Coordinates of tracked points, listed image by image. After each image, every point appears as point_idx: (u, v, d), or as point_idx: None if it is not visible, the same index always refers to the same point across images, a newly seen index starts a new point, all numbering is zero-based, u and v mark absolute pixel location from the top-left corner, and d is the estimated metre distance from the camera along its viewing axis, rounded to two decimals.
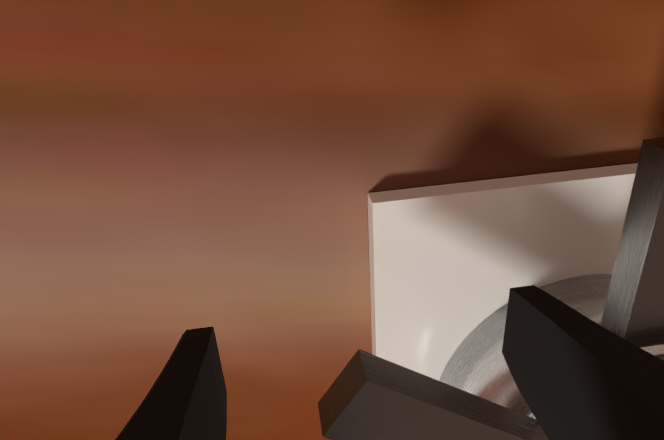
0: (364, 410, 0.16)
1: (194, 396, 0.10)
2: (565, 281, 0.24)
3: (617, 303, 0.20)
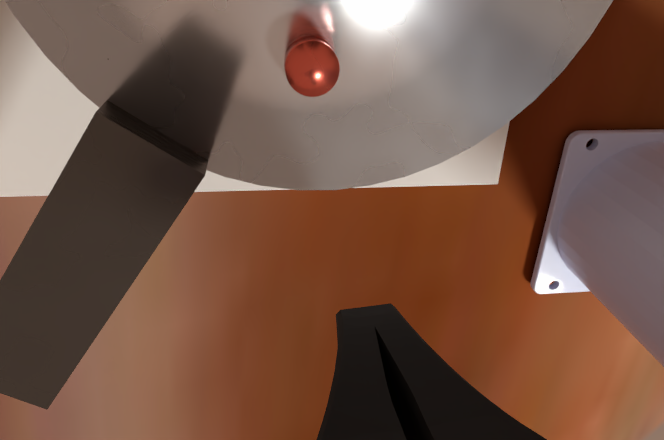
0: (0, 374, 0.14)
1: None
2: None
3: None
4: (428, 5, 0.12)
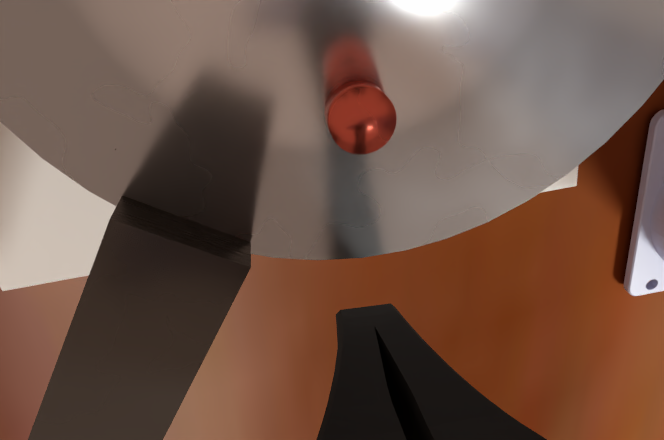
0: None
1: None
2: None
3: None
4: (497, 15, 0.09)
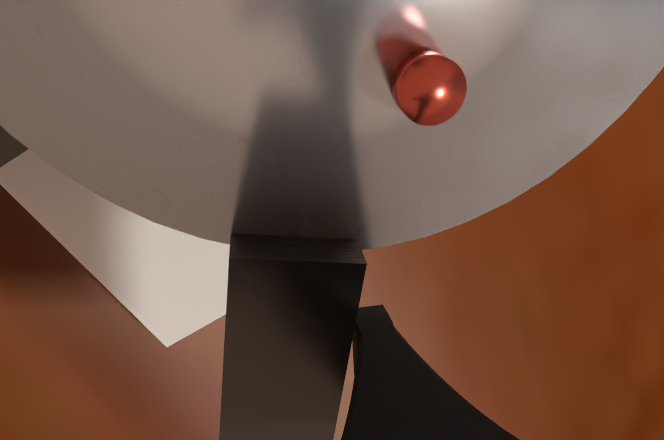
0: None
1: None
2: None
3: None
4: None
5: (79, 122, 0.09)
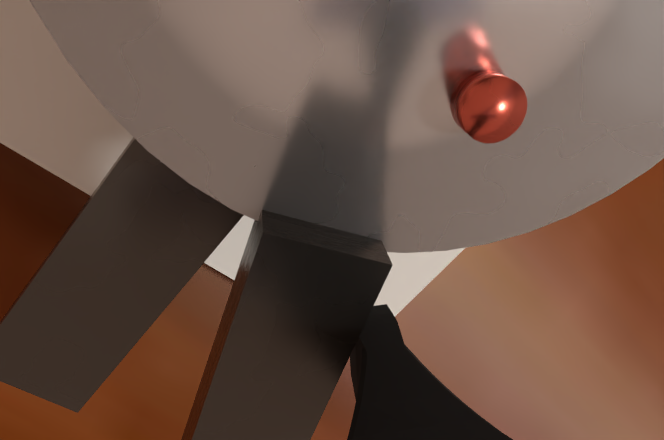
0: None
1: None
2: None
3: None
4: None
5: (142, 64, 0.09)
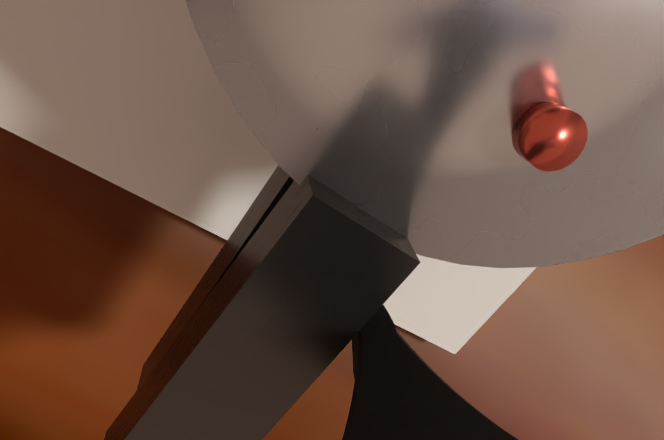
0: None
1: None
2: None
3: None
4: None
5: None
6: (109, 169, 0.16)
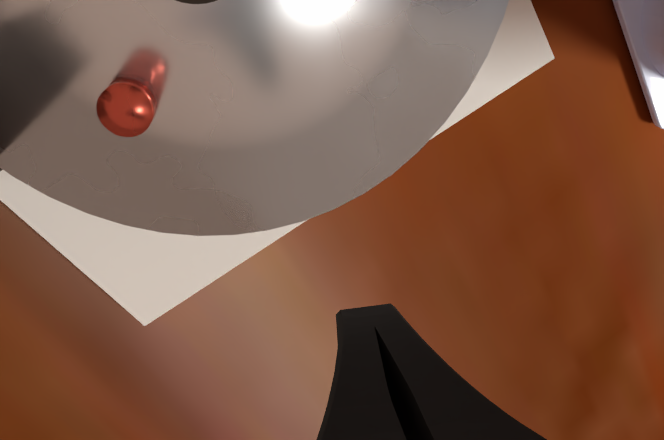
0: None
1: None
2: None
3: None
4: (256, 95, 0.13)
5: None
6: None
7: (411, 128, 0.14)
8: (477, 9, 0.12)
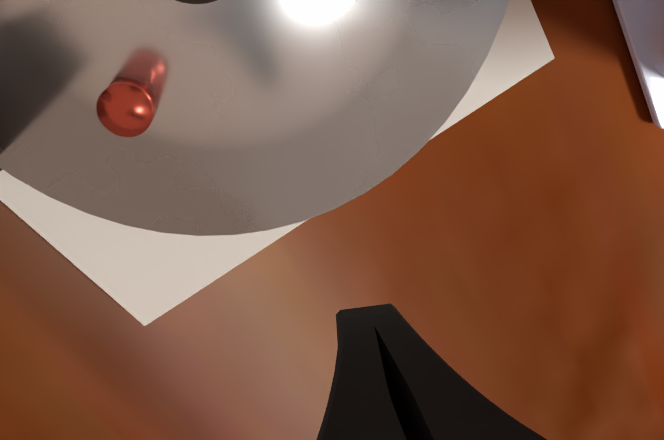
0: None
1: None
2: None
3: None
4: (256, 95, 0.13)
5: None
6: None
7: (411, 128, 0.14)
8: (477, 9, 0.12)
